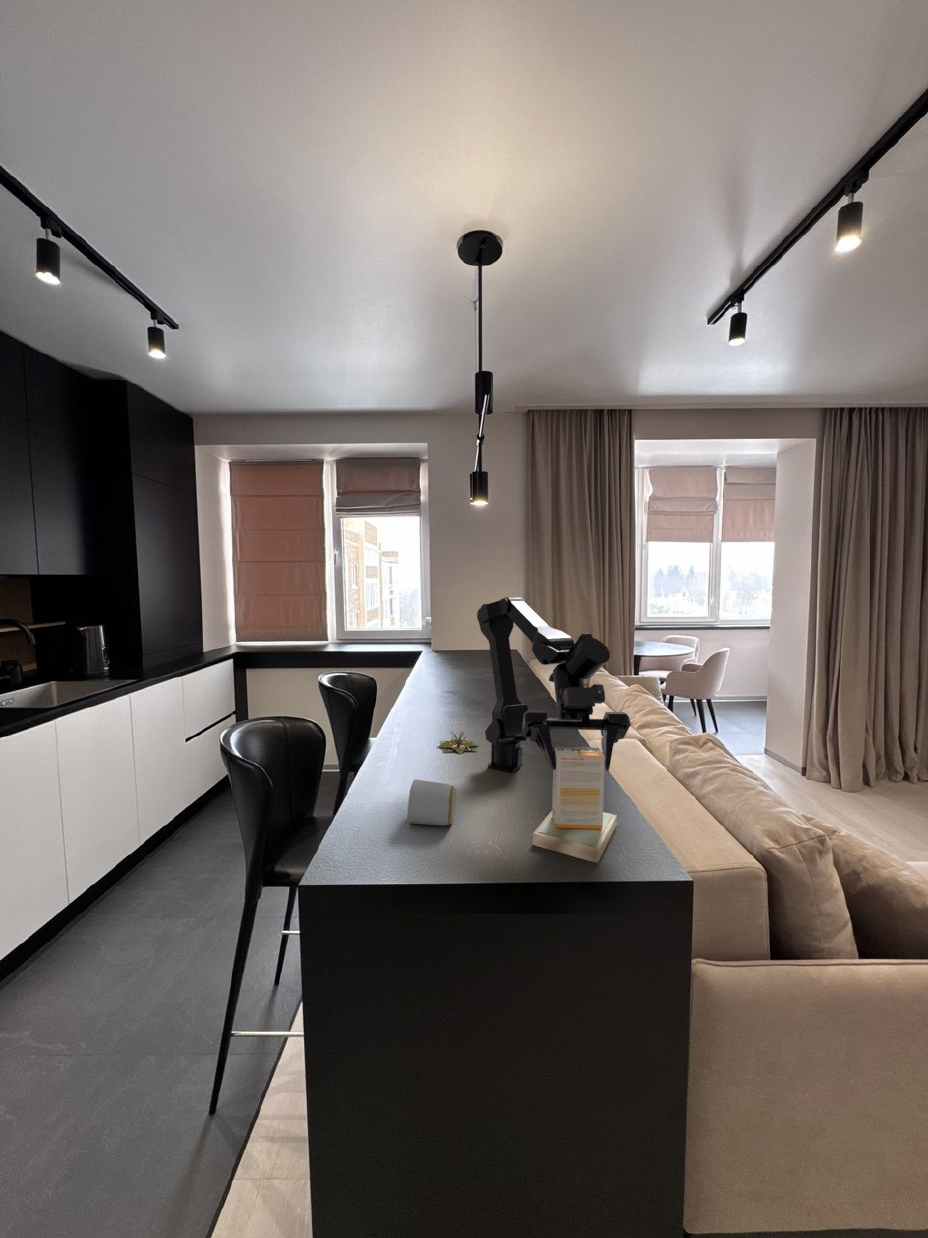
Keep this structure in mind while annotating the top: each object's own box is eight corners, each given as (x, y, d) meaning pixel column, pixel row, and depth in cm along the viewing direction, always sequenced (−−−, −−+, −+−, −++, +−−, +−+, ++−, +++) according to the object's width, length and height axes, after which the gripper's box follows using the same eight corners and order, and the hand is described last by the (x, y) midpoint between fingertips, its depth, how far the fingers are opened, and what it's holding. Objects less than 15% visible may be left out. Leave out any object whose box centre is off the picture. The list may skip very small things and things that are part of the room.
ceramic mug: (452, 833, 90) (453, 791, 89) (406, 831, 91) (407, 789, 90) (457, 807, 101) (458, 769, 100) (416, 805, 101) (416, 767, 101)
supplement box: (596, 817, 92) (599, 746, 91) (602, 830, 88) (606, 756, 86) (550, 815, 93) (553, 745, 91) (554, 828, 88) (556, 754, 87)
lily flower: (484, 756, 130) (484, 738, 130) (437, 757, 128) (437, 740, 128) (476, 740, 142) (476, 724, 141) (433, 742, 140) (433, 725, 140)
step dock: (532, 844, 87) (533, 832, 87) (558, 811, 99) (558, 800, 99) (597, 863, 82) (598, 850, 81) (616, 825, 94) (617, 814, 94)
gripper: (525, 666, 92) (531, 747, 82) (629, 668, 91) (648, 749, 81) (519, 699, 100) (524, 775, 90) (615, 700, 100) (630, 777, 90)
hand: (580, 769), depth 88 cm, fingers open, 9 cm apart
